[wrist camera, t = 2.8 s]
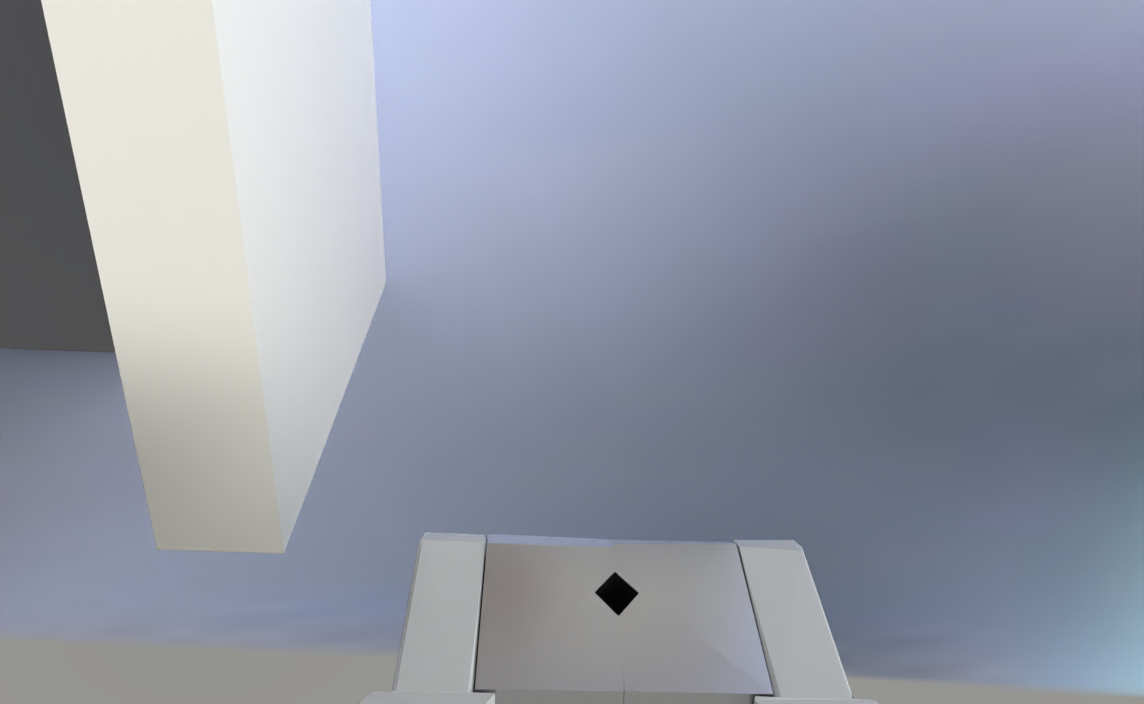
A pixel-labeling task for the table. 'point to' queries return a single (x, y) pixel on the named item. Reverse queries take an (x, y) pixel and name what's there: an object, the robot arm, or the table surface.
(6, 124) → the mat
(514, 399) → the table surface
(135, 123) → the tile
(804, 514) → the table surface
